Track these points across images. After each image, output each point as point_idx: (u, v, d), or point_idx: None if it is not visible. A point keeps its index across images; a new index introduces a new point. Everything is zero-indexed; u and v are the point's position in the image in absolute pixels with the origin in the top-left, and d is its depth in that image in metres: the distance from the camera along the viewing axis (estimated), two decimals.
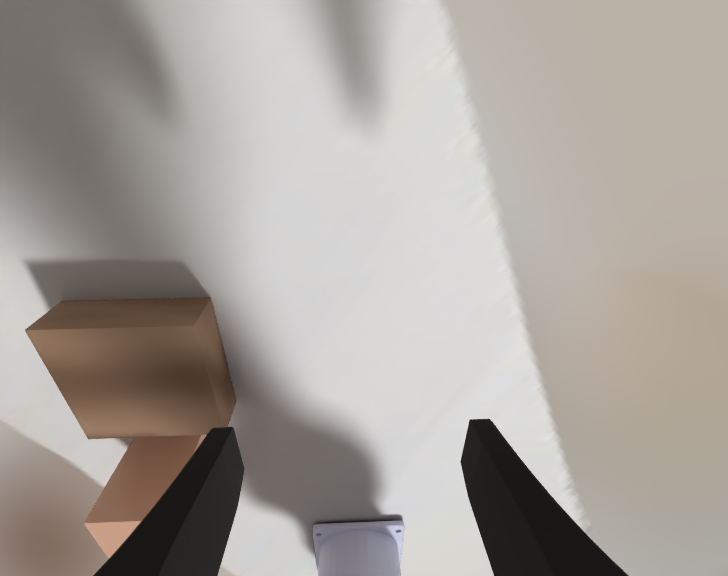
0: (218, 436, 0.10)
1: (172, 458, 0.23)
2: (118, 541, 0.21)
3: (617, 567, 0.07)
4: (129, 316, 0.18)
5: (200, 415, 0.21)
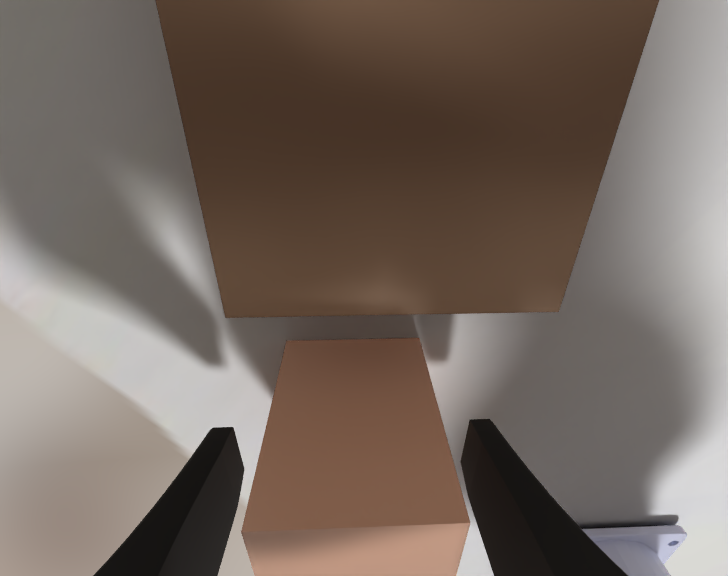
0: (218, 436, 0.10)
1: (389, 384, 0.10)
2: None
3: (617, 567, 0.07)
4: None
5: (531, 248, 0.08)
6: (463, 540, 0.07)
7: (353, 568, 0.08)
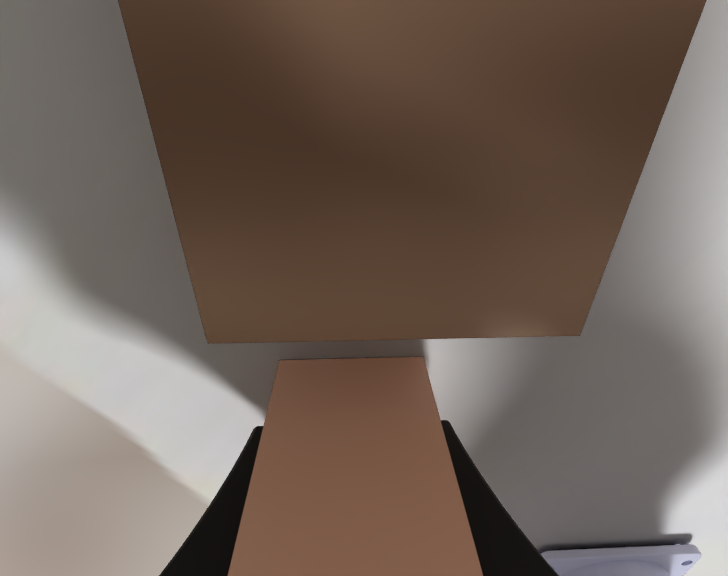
0: None
1: (392, 412, 0.10)
2: None
3: (551, 570, 0.07)
4: None
5: (552, 267, 0.07)
6: None
7: None
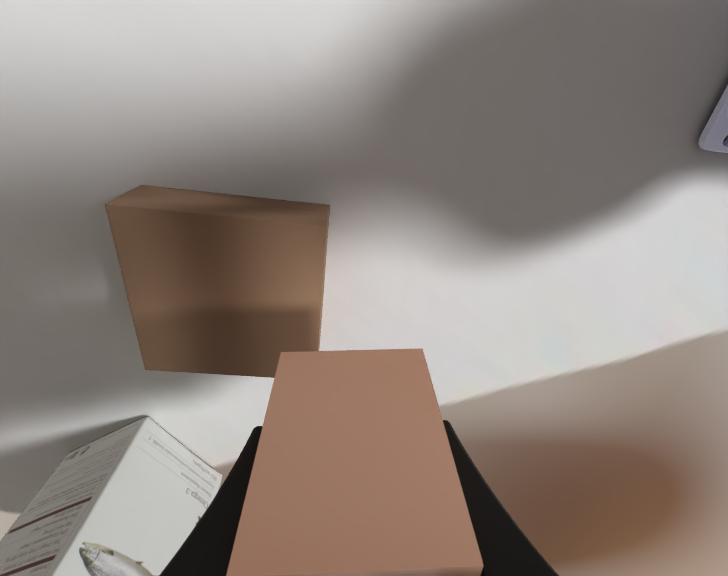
0: None
1: (391, 401, 0.10)
2: None
3: (551, 570, 0.07)
4: None
5: (281, 248, 0.14)
6: None
7: None
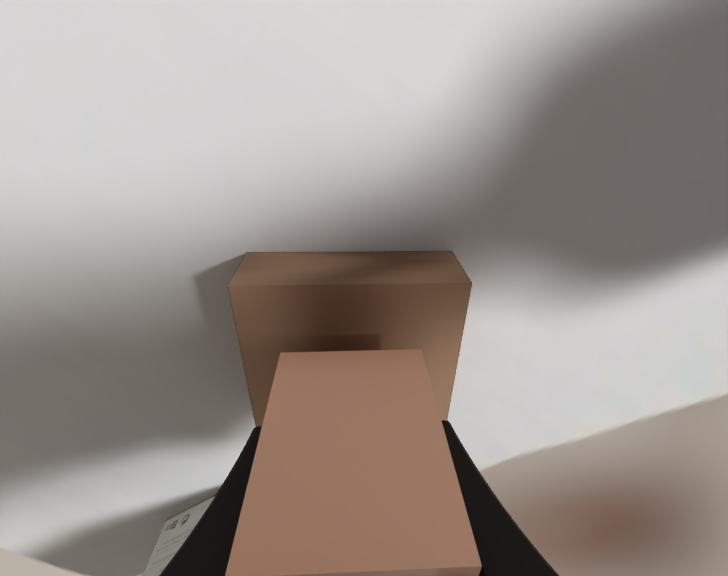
0: None
1: (390, 401, 0.10)
2: None
3: (551, 570, 0.07)
4: None
5: (419, 310, 0.12)
6: None
7: None
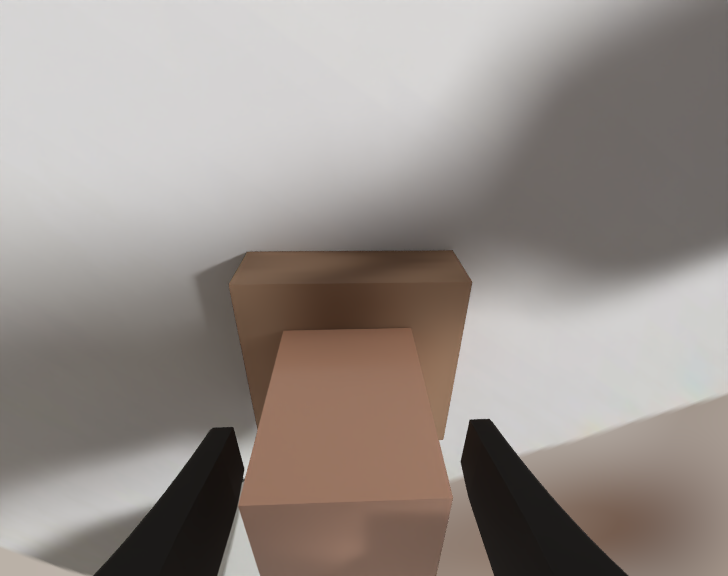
0: (218, 435, 0.10)
1: (381, 371, 0.11)
2: (304, 550, 0.09)
3: (617, 567, 0.07)
4: None
5: (419, 309, 0.13)
6: (447, 515, 0.08)
7: (344, 542, 0.08)
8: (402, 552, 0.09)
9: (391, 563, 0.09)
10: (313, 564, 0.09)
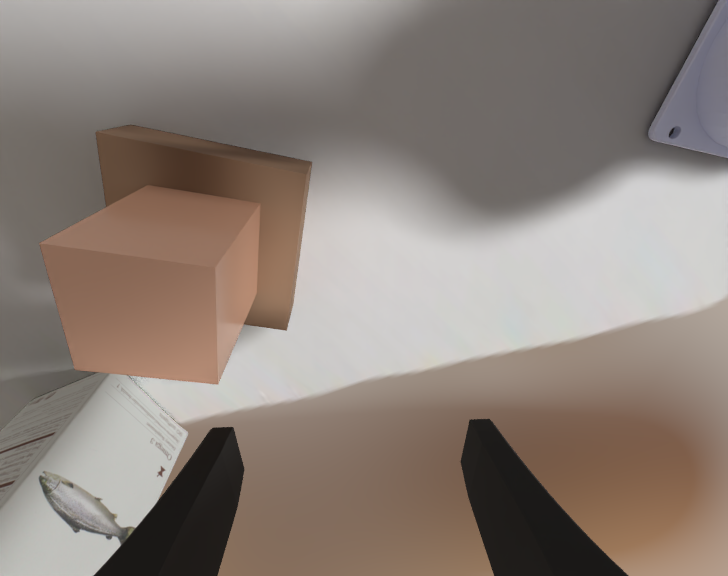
0: (219, 435, 0.10)
1: (214, 215, 0.13)
2: (101, 311, 0.11)
3: (617, 567, 0.07)
4: None
5: (263, 192, 0.15)
6: (213, 287, 0.10)
7: (134, 305, 0.11)
8: (184, 327, 0.11)
9: (177, 340, 0.11)
10: (110, 329, 0.11)
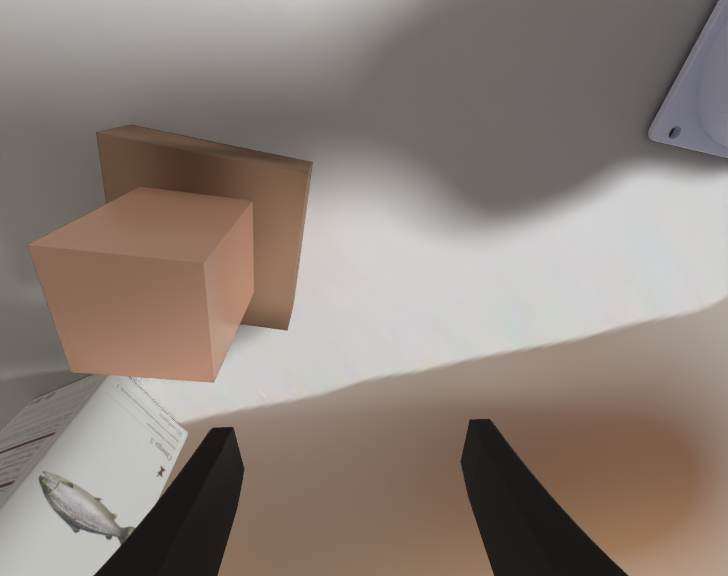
0: (219, 435, 0.10)
1: (205, 213, 0.13)
2: (93, 311, 0.11)
3: (617, 567, 0.07)
4: None
5: (264, 192, 0.15)
6: (203, 283, 0.10)
7: (125, 305, 0.11)
8: (177, 325, 0.11)
9: (170, 339, 0.11)
10: (103, 330, 0.11)
